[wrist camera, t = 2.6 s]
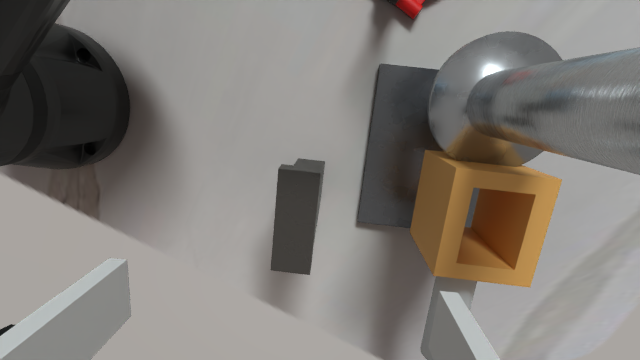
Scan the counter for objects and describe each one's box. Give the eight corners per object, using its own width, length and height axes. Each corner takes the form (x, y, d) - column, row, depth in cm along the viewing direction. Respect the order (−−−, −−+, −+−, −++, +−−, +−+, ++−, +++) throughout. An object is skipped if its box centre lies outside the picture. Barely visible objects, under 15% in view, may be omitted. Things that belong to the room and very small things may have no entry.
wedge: (293, 211, 38) (270, 270, 25) (299, 143, 36) (278, 168, 23) (319, 214, 38) (309, 274, 25) (326, 146, 36) (320, 173, 23)
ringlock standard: (357, 218, 38) (404, 486, 12) (382, 44, 33) (552, -157, 7) (496, 234, 38) (862, 548, 11) (541, 60, 33) (1339, -86, 7)
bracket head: (393, 320, 34) (410, 385, 26) (425, 149, 30) (456, 167, 22) (460, 328, 34) (497, 397, 26) (502, 158, 29) (562, 179, 22)
